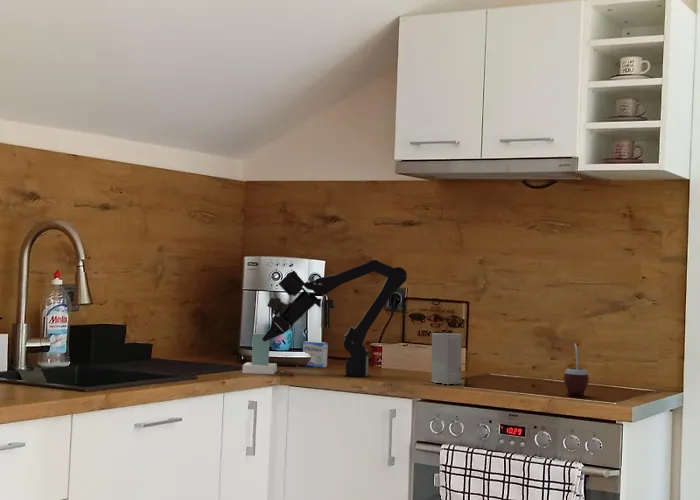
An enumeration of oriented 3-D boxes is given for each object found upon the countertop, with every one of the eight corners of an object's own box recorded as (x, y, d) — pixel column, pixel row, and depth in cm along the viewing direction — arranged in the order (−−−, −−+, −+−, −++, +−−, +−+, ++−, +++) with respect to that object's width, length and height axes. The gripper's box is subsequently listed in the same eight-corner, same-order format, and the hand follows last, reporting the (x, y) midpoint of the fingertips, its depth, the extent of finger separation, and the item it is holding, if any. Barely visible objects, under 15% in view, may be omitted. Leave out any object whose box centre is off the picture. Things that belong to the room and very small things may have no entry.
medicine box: (301, 366, 345) (302, 341, 346) (306, 365, 350) (307, 340, 350) (323, 367, 343) (324, 342, 343) (327, 366, 347) (328, 342, 348)
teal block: (253, 363, 322) (254, 332, 322) (268, 364, 322) (269, 333, 322) (251, 364, 317) (252, 333, 318) (267, 365, 317) (268, 334, 318)
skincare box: (448, 385, 300) (450, 334, 301) (428, 383, 305) (430, 332, 305) (462, 383, 307) (464, 333, 308) (442, 381, 311) (444, 331, 312)
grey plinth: (276, 371, 324) (276, 363, 324) (273, 374, 314) (273, 366, 315) (246, 369, 325) (246, 362, 325) (242, 372, 315) (242, 365, 315)
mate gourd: (576, 398, 281) (577, 345, 281) (556, 394, 287) (557, 343, 288) (594, 397, 285) (595, 345, 285) (573, 393, 291) (575, 343, 292)
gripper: (285, 288, 329) (251, 320, 329) (279, 289, 311) (244, 323, 311) (307, 312, 329) (273, 344, 329) (304, 314, 310) (268, 348, 310)
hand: (264, 339), depth 320 cm, fingers open, 9 cm apart
